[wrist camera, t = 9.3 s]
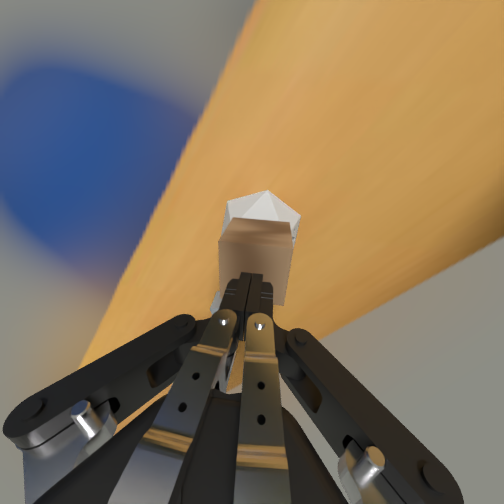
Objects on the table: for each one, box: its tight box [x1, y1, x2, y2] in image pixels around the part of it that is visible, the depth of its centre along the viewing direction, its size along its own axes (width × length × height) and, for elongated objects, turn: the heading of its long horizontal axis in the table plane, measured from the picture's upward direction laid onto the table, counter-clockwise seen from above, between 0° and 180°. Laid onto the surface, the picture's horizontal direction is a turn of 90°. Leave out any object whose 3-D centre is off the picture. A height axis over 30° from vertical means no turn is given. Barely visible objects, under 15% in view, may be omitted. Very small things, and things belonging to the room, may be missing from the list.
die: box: [221, 190, 301, 249], centre depth 23 cm, size 8×9×10 cm
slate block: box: [210, 291, 222, 314], centre depth 31 cm, size 4×4×4 cm
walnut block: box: [218, 217, 293, 306], centre depth 17 cm, size 5×5×5 cm
